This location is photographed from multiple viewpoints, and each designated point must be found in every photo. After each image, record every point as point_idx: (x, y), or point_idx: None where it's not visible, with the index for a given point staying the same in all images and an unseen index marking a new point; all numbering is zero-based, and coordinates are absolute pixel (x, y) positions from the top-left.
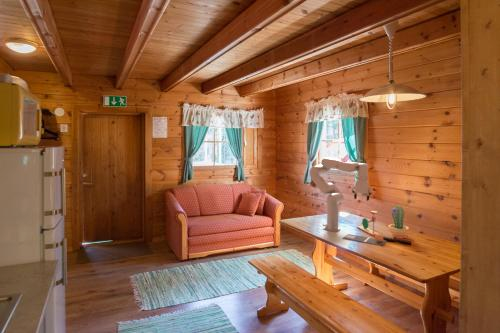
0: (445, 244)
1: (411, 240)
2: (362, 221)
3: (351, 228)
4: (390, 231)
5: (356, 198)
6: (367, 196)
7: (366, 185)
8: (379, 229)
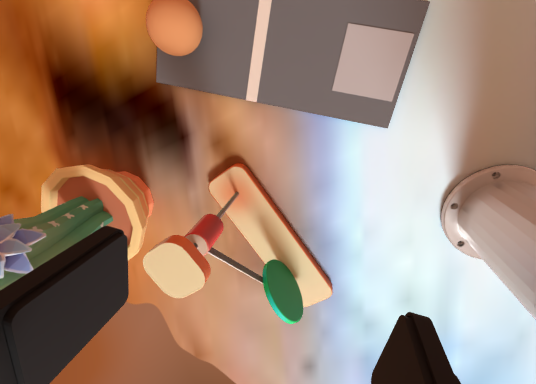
0: None
1: (65, 152)
2: (301, 313)
3: (364, 268)
4: (147, 209)
5: (373, 374)
6: (4, 291)
7: None
8: (221, 287)
